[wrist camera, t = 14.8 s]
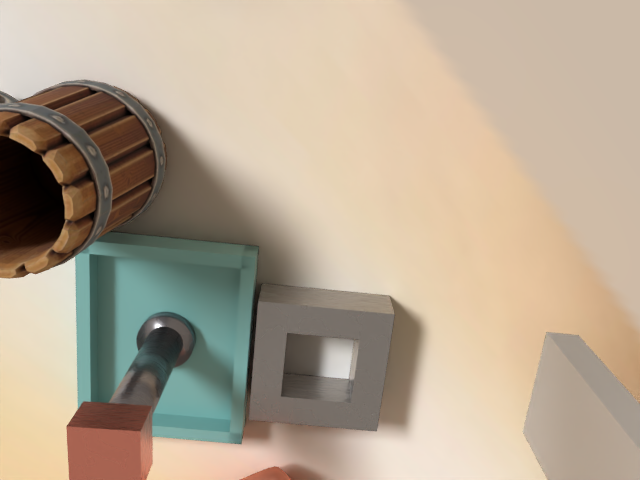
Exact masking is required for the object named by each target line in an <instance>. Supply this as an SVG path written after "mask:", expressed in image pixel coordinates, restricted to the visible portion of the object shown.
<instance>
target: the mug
mask: <svg viewBox="0 0 640 480" xmlns="http://www.w3.org/2000/svg"><path fill="white" fill-rule="evenodd" d="M166 162H167V155H166V147H165V143H163V140H162V138H161V130H160V128H159V126H158V124H157V122H156V120H155V119H154V118H153V116H152V115H151V114H150V112H149V111H148V109H144V108H143V106H142V105H141V104H140V103H139V101H138V100H137V99H136V98H134V97H133V96H132V95H130V94H129V93H127V92H126V91H124V90H122V89H120V88H117V87H115V86H114V87H113V86H111V85H109V84H106V83H103V82H96V81H90V80H76V81H66V82H62V83H60V84H57V85H54V86H52V87H49V88H47V89H44V90H42V91H39V92H37V93H36V94H34V95H33V96H32V97H29V98H26V99H23V100H21V101H18V100H16V99H15V98H13V97H12V96H10V95H8V94H6V93H4V92H2V91H0V278H19V277H24V276H26V275H27V274H29V273H33V274H38V273H40V272H43V271H46V270H49V269H50V268H52V267H55V266H58V265H60V264H63V263H65V262H67V261H68V260H70V259H72V258H73V257H75V256H76V255H78V254H79V253H81V252H82V251H83V250H85V249H86V248H87V247H89V246H90V245H91V244H93V243H94V242H95V240H96V239H98V238H99V237H101V236H103V235H104V234H106V233H107V232H109V231H110V230H112V229H115V228H118V227H120V226H123V225H125V224H127V223H128V222H130V221H131V220H133V219H134V218H135V217H137V216H138V215H140V214H141V213H142V212H144V211H145V210H146V209H147V208H148V207H149V205H150V204H151V203H152V202H153V200H154V199H155V198H156V196H157V195H158V192H159V190H160V188H161V185H162V183H163V181H164V180H163V179H164V173H165V170H166Z"/></svg>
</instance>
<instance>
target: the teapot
mask: <svg viewBox="0 0 640 480" xmlns="http://www.w3.org/2000/svg"><path fill="white" fill-rule="evenodd" d="M240 480H291V478H290V477H289V476H288V475H287V474H286V473H285V472H284V471H283V470H282V469H280V468H278V467H271V468H268V469H265V470H262V471H260V472H257V473H255V474H252V475H250V476H248V477H245V478H243V479H240Z"/></svg>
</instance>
